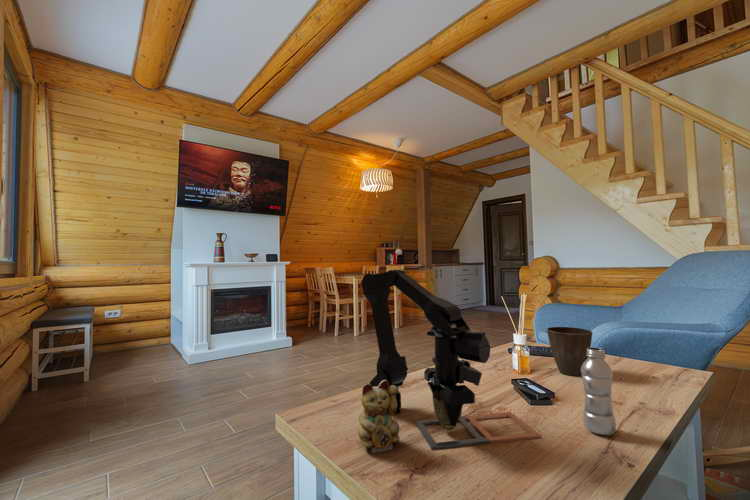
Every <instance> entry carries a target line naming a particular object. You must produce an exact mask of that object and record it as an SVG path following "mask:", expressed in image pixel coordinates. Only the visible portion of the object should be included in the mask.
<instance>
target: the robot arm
mask: <svg viewBox="0 0 750 500" xmlns="http://www.w3.org/2000/svg"><path fill="white" fill-rule="evenodd" d="M360 283H361V284H360V285H361V289H362V292H363V295H364V298H365V299H366V300H367V301H368V302H369V304H370V306H371V312H372V316H373V322H374V323H373V324H374V328H375V329H374V330H375V334H376V335H375V336H376V342H377V345H378V351H379V355H378V359H377V361H376V375H375V376H374V377H373V378H372V379H371V381H369V384H370V385H371V386H372V387H375V386H379V384H380V382H381V381H383V380H387V381H388V382H389V386H392V385H394V386H396V387H397V388H398V389H399V390H400V388H399V387H402V386H403V385H404V381H405V380H406V378H407V376H408V371H409V368H408V365H407V358H406V356H405V355H400V353H399V352H398V350H397V346H396V340H395V336H394V335H395V334H394V330H393V325H392V319H391V313H390V309H389V303H388V302H389V298H390V294H391V287H395V288H397V289H398V290H399V291H400V292H401V293H402V294H404V295H405V296H406V297H407V298H408V299H410V300H411V301H412V302H413V303H414V304H416V305H417V307H419V308H420V309H421V310H422V312H423V313H424V314H423V315H424V316H425V318H426V319H427V321H428V322H429V323H430V324H431V325H432V327H431V329H429V330H428V331H427V332H426V335H427V336H430V337H434V357H432V362H433V364H434V367H427V368H426V369H425V370H424V371H423V372H424V374H423V375H424V378H423V379H424V380H425V381H426V382H427V385H428V387H429V390H430V392H431V394H432V395H433V393H435V391H438V392H439V393H440V391H441V390H442V392H443V396H444V398H442V401H443V404H444V407H445V410H446V413H447V416H448V419H449V422H450V424H451V426H457V423H458V422H457V420H458V416H459V413H460V410H461V407H462V408H463V406H464V405H469V404H471V405H472V404H475V403H476V393H474V392H473V390H471V389H470V388H469V387H468V386H467V385H465V382H466V383H469V384H470V383H471V384H474V386H477V387H479V385H480V382H481V380H482V379H481V378H482V376H483V373H482V372H481V371H480V370H478V369H476V368H474V367H472V366H471V363H470V362H469V361H471V362H476V363H482V364H485V363H487V362H488V361H489V358H490V354H491V345H490V343H489V339H488V338H487V337H486V332H484V331H473V330H471V328H470V327H469V325H468V324H467V322H466V321H465V319H464V317H463V316H462V314H461V313H462V312H461V309H460V307H458V305H456V304H455V303H453V302H450V301H449V300H447V299H444V298H441V297H438V296H436V295H434V293H432V292H431V291H429V290H428V289H426V288H425V287H424V286H423V285H421V284H420V283H419V282H417V281H416V280H415V279H413V278H412V277H411V276H410V275H409V274H407V273H406V271H404V270H403V269H390V270H388V271H385V272H381V273H380V272H379V273H365V275H364V276H363V277H362V279H361V282H360ZM459 358H460V359H459ZM401 394H402V393H401V392H400V391H399V392H398V393H397V394H395V396H396V400H397V410H396V412H395V413H394V414H401V413H402V411H401V408H402V395H401ZM394 414H393V415H394Z"/></svg>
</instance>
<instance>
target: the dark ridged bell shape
mask: <svg viewBox="0 0 750 500" xmlns="http://www.w3.org/2000/svg"><path fill="white" fill-rule="evenodd" d="M442 398H444V396H443V392H442V390H441V391H440V393H439V392H438V391H435V393H433V394H432V404H433V411H434V414H435V416H436V419H438V420H439V421H440V422H441V424H440V426H441V428H442V429H443V430H445V431H453V430H455V428H456V426H457V425H456V426H451V424H450V422H449V419H448V416H447V413H446V410H445V407H444V404H443V401H442ZM462 411H463V406H462V407H461V410H460V413H459V416H458V420H457V423H459V422H458V421H459V419H460V417H462Z"/></svg>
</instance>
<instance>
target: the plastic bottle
mask: <svg viewBox="0 0 750 500" xmlns="http://www.w3.org/2000/svg"><path fill="white" fill-rule="evenodd" d="M586 355H587V356H588V358H587V360H586V361H585V362H584V363H583V364H582V366H581V373H582V375H581V377H582V382H583V390H584V410H583V417H582V419H583V423H584V426H585V428H586V429H587V431H590V432H591V433H593V434H596V435H600V436H612V435H614V433H615V432H616V429H617V422H616V417H615V415H614V409H613V402H612V385H613V376H614V373H613V370H612V367H610V365H609V364H608V362H607V361H606V360H605V359H606V351H605V349H604V348H600V347H590V348H587V354H586Z"/></svg>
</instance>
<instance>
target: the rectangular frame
mask: <svg viewBox="0 0 750 500" xmlns="http://www.w3.org/2000/svg"><path fill="white" fill-rule="evenodd" d="M501 418H509V419H510V420H511V421H513V422H514V423H515V424H516V425H518V426H519V427H520V428H521V429H523V430H524V431H525V433H515V434H503V435H497V436H496V435H495V436H493V435H491V434H490V433H489V432H488V431H487V430H486V429H485V428H484V427H483V426H482V425H481V424H480V423H479V422H478V421H481V420H490V419H491V420H492V419H501ZM457 423H460V425H461V426H462V427H463V428H464V429H465V430H466V431H467V432H468V433H469V434H470V435H471V437H472V438H469V439H459V440H449V441H441V442H439V441H438V442H436V441H435V439H434V438H433V436H432V435H431V433H430V432H429V430H428V429H427V428H426V426H428V425H429V426H430V425H432V426H433V425H441V422H440V421H439V420H438V419H437V418H433V419H421V420H420V419H419V420H415V425H416V426H417V429H418V430H419V431H420V433H421V435H422V436H423V438H424V440H425V441H426V443H427V444H428V446H429V448H430V449H431V450H432V451H433V450H440V449H441V450H442V449H450V448H451V449H452V448H459V447H460V448H462V447H467V446H468V447H469V446H480V445H487V444H495V443H496V444H497V443H504V442H505V443H506V442H513V441H524V440H533V439H541V438H542V437H541V436H542V434H540V433H539V432H537V431H536V430H535V429H533V428H532V426H531V427H530V426H529V425H528V424H527V423H525V422H524V421H523V420H522V419H520V418H519V417H518V416H517V415H515V414H514V413H512V412H510V411H508V412H507V411H506V412H496V413H494V412H493V413H484V414H474V415H473V414H472V415H464V416H463V415H461V417H460V419H459V421H458V422H457ZM479 433H480V434H479Z"/></svg>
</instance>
